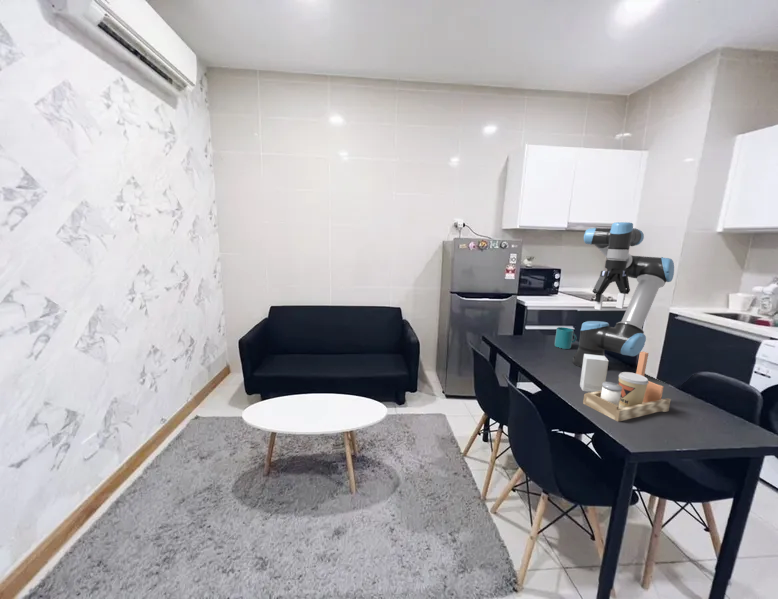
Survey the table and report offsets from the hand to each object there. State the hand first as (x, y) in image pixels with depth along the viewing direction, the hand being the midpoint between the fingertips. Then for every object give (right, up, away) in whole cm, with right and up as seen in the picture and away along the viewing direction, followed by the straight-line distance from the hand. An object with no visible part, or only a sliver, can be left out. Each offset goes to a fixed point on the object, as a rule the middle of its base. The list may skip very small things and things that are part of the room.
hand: (608, 308), depth 147 cm
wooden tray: (-4, -38, -16) cm, 41 cm away
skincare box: (-9, -36, -2) cm, 37 cm away
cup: (+11, -25, +58) cm, 64 cm away
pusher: (+8, -37, -11) cm, 39 cm away
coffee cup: (-2, -37, -15) cm, 40 cm away
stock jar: (-13, -38, -19) cm, 44 cm away
